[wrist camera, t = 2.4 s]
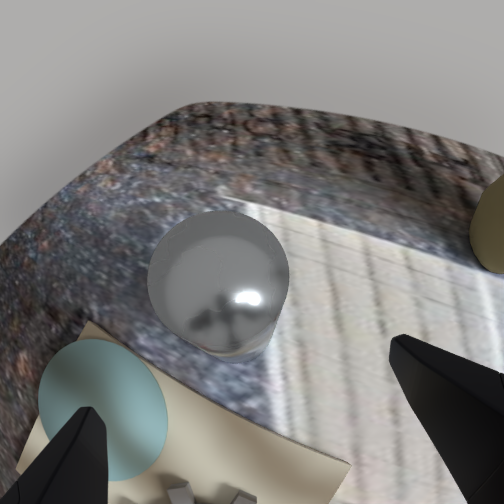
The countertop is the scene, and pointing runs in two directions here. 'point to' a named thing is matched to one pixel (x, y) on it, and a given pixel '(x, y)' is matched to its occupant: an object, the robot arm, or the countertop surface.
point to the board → (173, 434)
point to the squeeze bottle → (489, 228)
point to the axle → (220, 284)
